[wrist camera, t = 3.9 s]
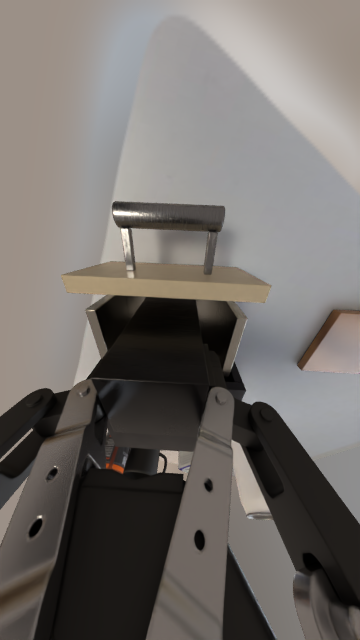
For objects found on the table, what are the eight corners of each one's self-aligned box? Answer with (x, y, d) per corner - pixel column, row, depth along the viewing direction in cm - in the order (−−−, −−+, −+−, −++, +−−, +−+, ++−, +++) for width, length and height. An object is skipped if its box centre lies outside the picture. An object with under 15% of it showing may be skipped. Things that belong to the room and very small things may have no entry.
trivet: (333, 309, 17) (341, 312, 16) (415, 313, 17) (427, 317, 16) (296, 365, 22) (301, 370, 21) (360, 369, 22) (367, 374, 21)
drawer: (100, 211, 13) (26, 185, 7) (248, 217, 12) (305, 197, 7) (128, 355, 21) (106, 398, 16) (215, 360, 21) (227, 406, 15)
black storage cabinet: (122, 328, 20) (85, 380, 13) (223, 334, 20) (246, 390, 12) (134, 390, 27) (115, 446, 20) (209, 395, 27) (217, 453, 20)
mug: (123, 440, 39) (111, 478, 33) (136, 428, 35) (125, 468, 29) (160, 451, 42) (156, 487, 36) (176, 441, 38) (174, 480, 32)
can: (221, 434, 35) (235, 516, 25) (238, 424, 32) (264, 512, 22) (240, 441, 36) (262, 521, 26) (259, 431, 34) (292, 518, 23)
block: (147, 294, 14) (89, 377, 6) (195, 297, 14) (209, 384, 6) (150, 333, 17) (113, 432, 8) (191, 335, 17) (197, 437, 8)
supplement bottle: (106, 424, 35) (75, 496, 25) (120, 416, 33) (92, 492, 23) (125, 433, 37) (103, 503, 27) (140, 426, 35) (122, 500, 25)
